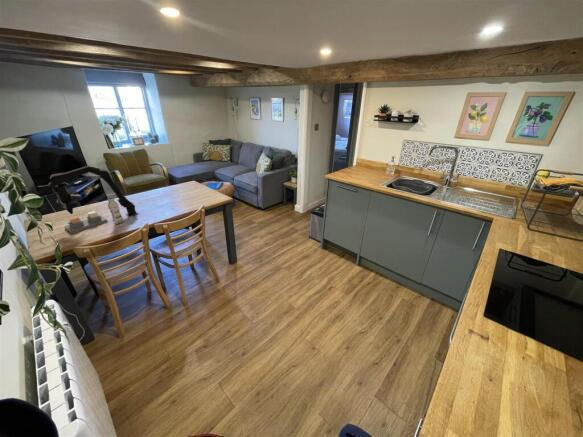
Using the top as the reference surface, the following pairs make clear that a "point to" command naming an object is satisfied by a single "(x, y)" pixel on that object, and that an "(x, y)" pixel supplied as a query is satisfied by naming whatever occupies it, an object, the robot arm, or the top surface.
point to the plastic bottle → (115, 211)
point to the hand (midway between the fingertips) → (71, 213)
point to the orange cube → (74, 219)
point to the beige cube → (92, 214)
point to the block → (85, 224)
